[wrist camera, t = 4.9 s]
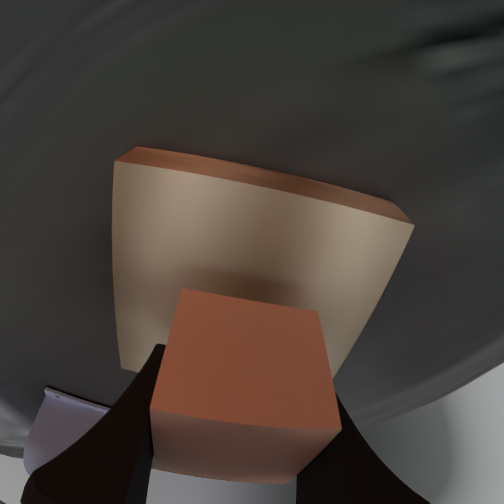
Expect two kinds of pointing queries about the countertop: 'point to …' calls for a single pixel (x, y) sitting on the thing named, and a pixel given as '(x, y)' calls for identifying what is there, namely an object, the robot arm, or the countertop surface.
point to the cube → (242, 391)
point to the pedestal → (244, 246)
